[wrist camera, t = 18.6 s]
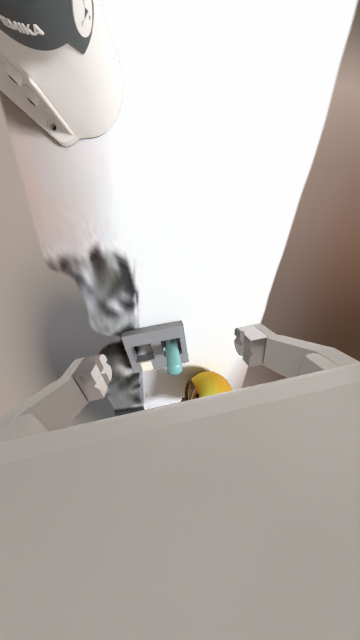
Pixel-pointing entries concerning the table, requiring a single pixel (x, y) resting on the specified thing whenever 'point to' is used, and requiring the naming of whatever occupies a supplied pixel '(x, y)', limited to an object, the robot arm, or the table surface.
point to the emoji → (205, 385)
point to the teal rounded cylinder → (173, 357)
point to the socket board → (153, 345)
